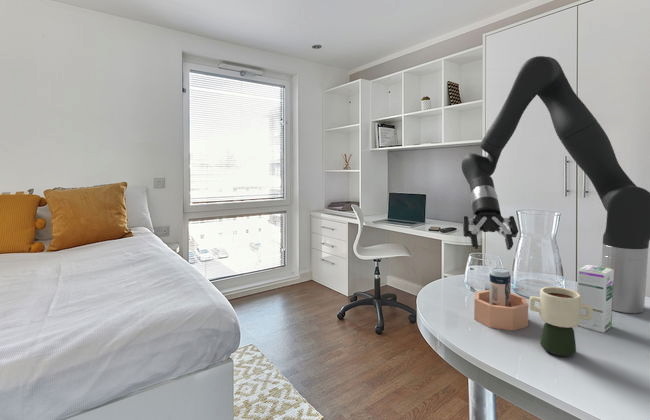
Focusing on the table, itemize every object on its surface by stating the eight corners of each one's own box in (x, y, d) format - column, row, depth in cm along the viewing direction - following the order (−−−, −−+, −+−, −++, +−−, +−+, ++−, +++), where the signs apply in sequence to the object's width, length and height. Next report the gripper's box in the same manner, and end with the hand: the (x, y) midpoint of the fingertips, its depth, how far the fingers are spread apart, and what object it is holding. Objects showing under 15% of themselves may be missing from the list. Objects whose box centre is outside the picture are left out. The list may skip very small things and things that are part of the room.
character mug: (587, 349, 72) (591, 291, 71) (591, 366, 66) (595, 302, 65) (528, 337, 78) (530, 283, 77) (527, 351, 72) (529, 293, 71)
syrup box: (604, 333, 79) (608, 273, 77) (574, 324, 83) (577, 267, 82) (611, 326, 82) (615, 268, 80) (582, 318, 87) (585, 263, 85)
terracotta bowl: (498, 306, 96) (498, 287, 95) (537, 324, 84) (538, 302, 84) (464, 314, 91) (464, 294, 91) (501, 333, 80) (502, 311, 80)
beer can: (512, 319, 85) (513, 273, 84) (492, 318, 86) (492, 272, 85) (506, 311, 90) (507, 267, 88) (487, 310, 91) (487, 267, 89)
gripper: (461, 196, 104) (467, 240, 94) (512, 195, 100) (524, 241, 90) (459, 211, 109) (464, 254, 100) (507, 210, 106) (517, 255, 96)
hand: (492, 247), depth 95 cm, fingers open, 8 cm apart
